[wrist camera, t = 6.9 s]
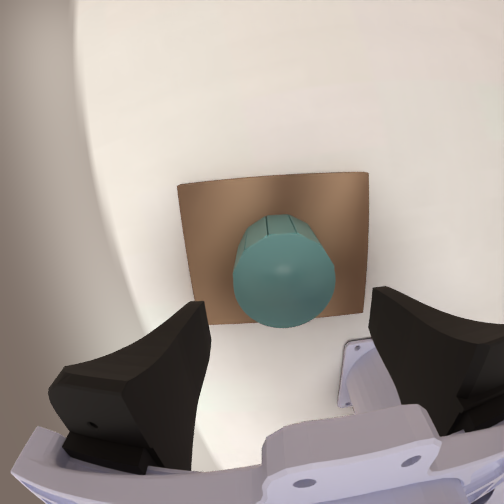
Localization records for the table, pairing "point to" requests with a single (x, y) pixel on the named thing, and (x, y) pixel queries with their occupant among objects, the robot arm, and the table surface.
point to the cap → (282, 272)
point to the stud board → (263, 204)
